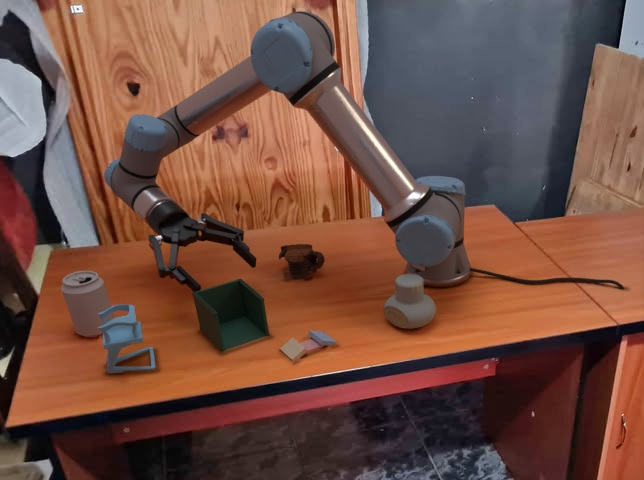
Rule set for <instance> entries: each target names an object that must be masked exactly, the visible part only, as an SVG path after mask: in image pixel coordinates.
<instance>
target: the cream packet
mask: <svg viewBox="0 0 644 480" xmlns="http://www.w3.org/2000/svg"><path fill="white" fill-rule="evenodd" d="M300 343H301V342H299V341H298V340H297V339H296V338H295V337H293V336H292V337H291V338H290V339H289V340H287V342H285V343H284V344H283V345H282V346H281V347H280V348H279V350H280V351H281V352H282V353H283V354H284V355H285V356H287V357H288V359H290V360H291V361H292V362H294V361H297V360H299V359H301V358H302V357H303V356H304V355H305V353H306V352H307V349H306V348H305V347H304V346H302V345H301V344H300ZM306 354H307V353H306Z"/></svg>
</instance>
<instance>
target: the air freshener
mask: <svg viewBox="0 0 644 480" xmlns="http://www.w3.org/2000/svg"><path fill="white" fill-rule="evenodd" d="M436 312H437V306H436V303H435V302H434V300H433V299H432V298H431V297H430V296H429V295H427V294H426V293H425V286H424V280H423V278H422V277H421V276H419V275H416V274H407V273H404V274H400V275H398V276H396V278H395V280H394V294H392V295H391V296H389V297H388V299H386V301H385V302H384V305H383V314H384V316H385V318H386V319H387V320H388V321H389V322H390V323H391V324H392V325H393V326H396V327H398V328H401V329H408V330H409V329H410V330H411V329H419V328H422V327H424V326H426V325H428V324H429V323H430V322H431V321H432V320H433V319H434V318H435V316H436V314H437V313H436Z"/></svg>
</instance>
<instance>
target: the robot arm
mask: <svg viewBox="0 0 644 480" xmlns="http://www.w3.org/2000/svg"><path fill="white" fill-rule="evenodd" d="M335 44H336V43H335V37H334V34H333V31H332V30H331V28H330V26H329V24H327V22H326V21H325V20H324V19H323V18H322V17H320V16H319V15H317V14H315V13H313V12H310V11H306V10H305V11H304V10H298V11H293V12H290V13H288V14H287V15H283V16H281V17H276V18H272V19H270V20H269V21H268V22H266V23H264V24H263V25H262V26H261V27H260V28H259V29H258V30H257V31H256V33H254V36H253V38H252V40H251V44H250V55H249V56H248V57H246V58H244V59H243V60H242V61H240V62H239V63H238V64H236V65H234V66H233V67H231V68H230V69H228V70H226V71H225V72H224V73H222V74H221V75H219V76H218V77H216V78H215V79H213V80H211V81H210V82H209V83H207V84H206V85H204V86H203V87H201V88H199V89H198V90H197V91H195V92H194V93H192V94H191V95H189V96H188V97H186V98H184V99H183V100H182V101H180V102H179V103H177V104H176V105H173V106H172V107H171V108H170V109H168V110H166V111H165V112H163V113H162V114H160V115H158V116H156V117H155V116H153V115H149V114H145V113H143V114H140V113H137V114H134V115H132V116H130V117H129V119H128V122H127V125H126V128H125V130H124V137H123V138H124V139H123V143H122V147H121V152H120V157H119V158H117V159H114V160H112V161H111V162H109V165H108V166H107V167H106V168H105V169H104V172H103V173H104V174H103V178H104V182H105V184H106V185H107V187H108V188H109V189H110V190H111V191H112V193H113V194H114V195H115V196H116V197H117V198H119V199H120V200H121V201H122V202H123V203H125V205H126V206H128V207H129V209H130V210H132V212H134V213H135V215H137V216H138V217H139V218H140V219H141V220H142V221H143V222H144V223H145V224H146V225H148V227H149V228H150V229H151V230H152V231H153V232H154V233H155V234H156V235H154V234H148V236H147V237H148V245H149V248H150V249H151V250H152V251H153V254H154V259H155V263H156V269H157V273H158V277H159V278H160V279H165V278H166V277H169V279H171V280H175V281H176V282H177V283H178V284H179V285H181V286H184V285H185V286H186V287H188V289H190V290H191V291H192V293H193V292H196V291H199V290H202V286H201V284H200V283H199V282H198V281H197V280H196V279H195V278H194V277H193V276H192V275H191V274H190V273H189V272H188V271H187V270H185V268H184V267H183V266H182V265H178V258H179V253H180V252H179V251H180V248H182V247H183V248H186V247H188V246H189V245H191V244H195V243H197V242H203V243H204V242H210V243H211V242H212V243H216V244H220V245H225V246H231V247H232V250H233V251H234V253H236V255H238V256H239V257H240V258H241V259H242V260H243V261H244V262H245V263H247V265H249V267H251V268H252V269H254V268H256V267H257V257H256V256H255V255H254V254H253V253H252V252H251V251H250V247H249V246H248V244H246V243H245V242H244V240H245V239H244V238H245V231H244V230H243V229H241V228H238V227H236V226H233V225H231V224H228V223H226V222H223V221H221V220H218V219H215V218H213V217H211V216H210V215H208V214H207V213H206V212H202V213H201V214H200V217H198V218H196V219H194V218H192V217H190V215H189V214H188V213H187V211H186V210H184V209H183V207H181V205H180V204H178V203H177V202H176V201H175V200H174V199H173V198H172V197H171V196H170V195H169V194H168V193H167V192H166V191H164V189H162V188H161V186H159V184H158V183H156V181H157V177H158V175H159V171H160V166H161V162H162V160H163V159H164V158H166V157H167V156H169V155H171V154H172V153H175V151H177V150H179V149H180V148H182V147H184V146H186V145H187V144H190V143H192V142H193V141H194V140H195V139H197V138H198V137H200V136H201V135H203V134H205V132H207V131H209V130H210V129H213V128H214V127H216V125H219V124H220V123H222V122H223V121H225V120H227V119H228V118H230V117H232V115H235V114H236V113H238V112H239V111H242V109H244V108H246V107H247V106H249V105H251V104H252V103H254V102H256V101H257V100H259V99H260V98H262V97H263V96H265V95H267V94H268V93H270V92H271V91H273V92H276V93H279V94H282V95H283V96H284V97H285V98H286V100H287V101H288V102H289V103H290V104H291V106H292V107H293V108H295V109H300V110H304V111H306V112H307V113H308V115H310V117H311V118H312V119H313V121H314V122H315V124H317V126H318V127H319V128H320V129H321V131H322V132H323V133H324V134H325V136H326V137H327V138H328V139H329V141H330V142H331V144H332V145H333V146H334V148H336V150H337V151H338V153H339V154H340V155H341V156H342V157H343V159H344V160H345V161H346V162H347V164H348V165H349V166H350V168H352V170H353V171H354V173H355V174H356V175H357V177H358V178H359V179H360V180H361V182H362V183H363V184H364V185H365V187H366V188H367V189H368V190H369V192H370V193H371V194H372V195H373V197H374V198H375V199H376V201H377V202H378V203H379V204H380V206H381V207H382V208H383V210H384V217H383V221H384V222H385V224H386V225H387V226H388V228H389V229H390V230H391V231H392V232H393V234H394V242H395V247H396V250H397V252H398V253H399V255H400V256H401V257H402V258H403V259H404V260H405V261H407V262H406V274H416V275H419V276H421V277H422V278H423V280H424V287H428V288H429V287H430V288H449V287H454V286H457V285H461V284H463V283H464V282H466V281H467V280H468V279H469V278H470V276H471V272H473V273H478V274H481V275H487V276H491V277H495V278H500V279H503V280H504V279H505V280H507V281H508V280H509V281H513V282H517V283H524V284H546V283H547V284H548V283H555V282H588V283H595V284H612V285H615V286H617V287H618V288H619V289H620V290H625V287H624V286H623V284H621V283H620V282H619V281H616V280H613V279H596V278H587V277H553V278H546V279H525V278H518V277H515V276H510V275H505V274H501V273H496V272H492V271H489V270H483V269H478V268H473V267H471V262H470V259H469V257H468V253H467V250H466V247H465V243H464V240H465V210H466V209H465V207H466V206H465V205H466V201H465V200H466V196H467V193H466V185H465V183H464V182H463V180H461V179H459V178H456V177H451V176H443V175H429V176H428V175H427V176H420V177H418V178H416V179H415V178H414V177H413V175H412V174H411V172H410V171H409V170H408V168H407V167H406V166H405V165H404V164H403V162H402V161H401V160H400V158H399V157H398V155H397V154H396V153H395V151H394V150H393V149H392V147H391V146H390V145H389V143H388V142H387V141H386V139H385V138H384V137H383V135H382V134H381V133H380V131H379V130H378V129H377V127H376V126H375V125H374V124H373V122H372V121H371V120H370V118H369V117H368V116H367V114H366V113H365V112H364V110H363V108H362V107H361V106H360V105H359V103H357V102H358V101H356V100H355V98H354V97H353V95H352V94H351V93H350V91H349V90H348V89H347V87H345V85H344V84H343V82H342V80H341V79H342V78H341V76H342V68H341V66H340V65H339V64H338V62H337V60H335V58H334V56H335V53H336V45H335ZM199 233H200V234H199ZM163 243H165V244H169V245H170V251H169V259H168V260H169V261H168V266H167V265H165V261H164V256H163V253H162V252H163V251H162V245H163Z"/></svg>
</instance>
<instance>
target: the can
mask: <svg viewBox="0 0 644 480" xmlns="http://www.w3.org/2000/svg"><path fill="white" fill-rule="evenodd" d="M60 290H61V293H62V296H63V299H64V301H65V304H66V307H67V310H68V313H69V316H70V319H71V322H72V325H73V329H74V331H75V332H76V334H78V335H79V336H83V337H85V338H99V337H100V336H101V335H102V336H103V333H102V332H101V331H100V330H99V329H98V327H100V326H102V325H104V322H103V320H102V319H101V317H100V316H99V315H98V313H100V312H103V311H105V310H106V309H108V308H110V307H112V304H111V300H110V298H109V294H108V290H107V287H106V285H105V281H104V279H103V278H102V277H100V276H99V274H98V273H97V272H95V271H93V270H77V271H74V272H72V273H68V274H67V275H66V276H64V277H63V278H62V285H61V287H60ZM105 318H106V319H107V321H108V322H109V321H111V320H112V319H114V318H116V316H115V315H114V312H112V313H110V314H108V315H107V316H106V317H105Z"/></svg>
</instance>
